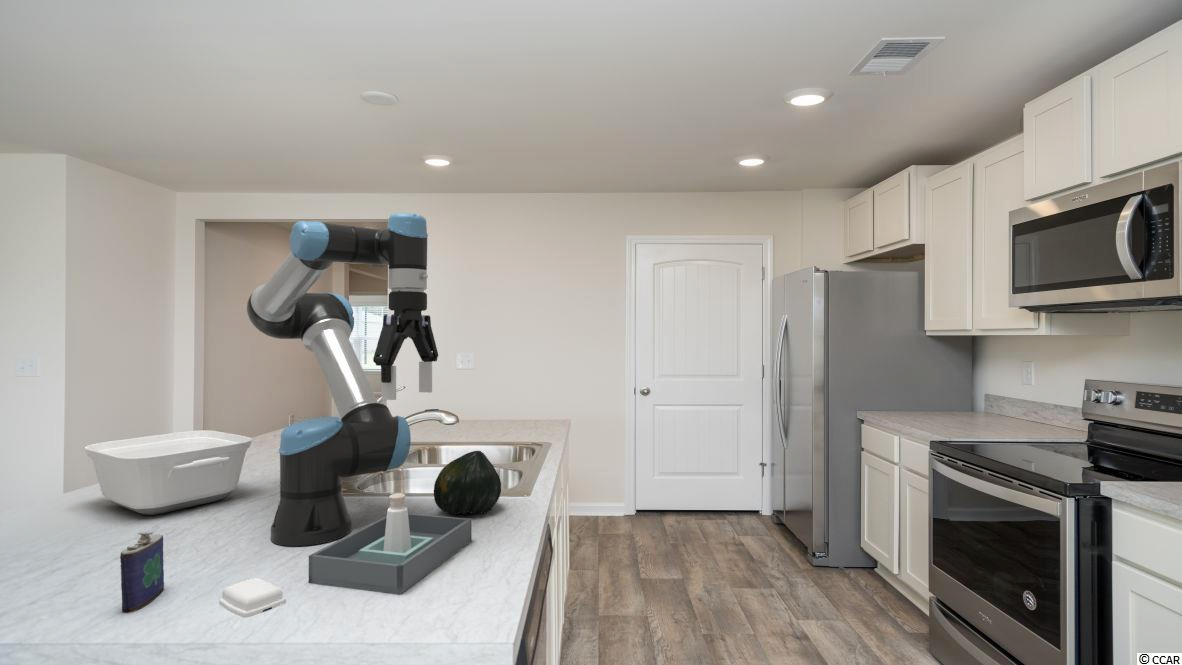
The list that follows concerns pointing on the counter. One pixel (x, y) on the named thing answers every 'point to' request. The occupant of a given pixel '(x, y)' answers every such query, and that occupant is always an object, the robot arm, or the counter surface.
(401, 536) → the salt shaker
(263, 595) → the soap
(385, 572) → the bin
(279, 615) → the counter surface
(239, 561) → the counter surface
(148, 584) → the flask
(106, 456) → the white plastic tub
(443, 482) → the squash
